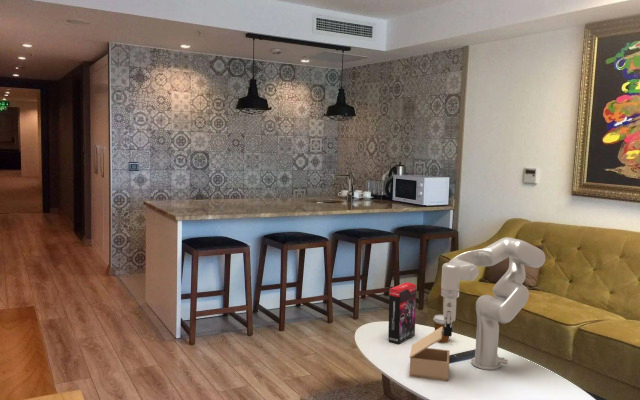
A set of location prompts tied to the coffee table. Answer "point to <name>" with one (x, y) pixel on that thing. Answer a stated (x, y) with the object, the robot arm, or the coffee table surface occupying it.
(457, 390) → the coffee table surface
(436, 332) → the carton lid
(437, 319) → the disposable coffee cup
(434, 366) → the carton
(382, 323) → the coffee table surface
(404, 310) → the graphics card box
